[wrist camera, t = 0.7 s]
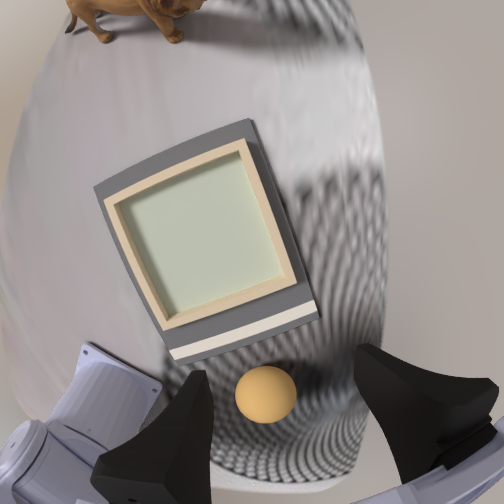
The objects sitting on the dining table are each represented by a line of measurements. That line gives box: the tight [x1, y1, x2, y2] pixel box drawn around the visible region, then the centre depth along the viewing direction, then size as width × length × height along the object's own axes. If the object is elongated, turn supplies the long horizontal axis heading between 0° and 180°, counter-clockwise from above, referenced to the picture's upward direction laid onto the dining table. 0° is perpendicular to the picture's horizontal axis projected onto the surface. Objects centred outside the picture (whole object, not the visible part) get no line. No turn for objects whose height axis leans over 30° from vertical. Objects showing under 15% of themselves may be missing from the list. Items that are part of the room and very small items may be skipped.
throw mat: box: [93, 118, 319, 366], centre depth 19 cm, size 16×12×1 cm
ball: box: [235, 366, 297, 423], centre depth 20 cm, size 5×5×5 cm
